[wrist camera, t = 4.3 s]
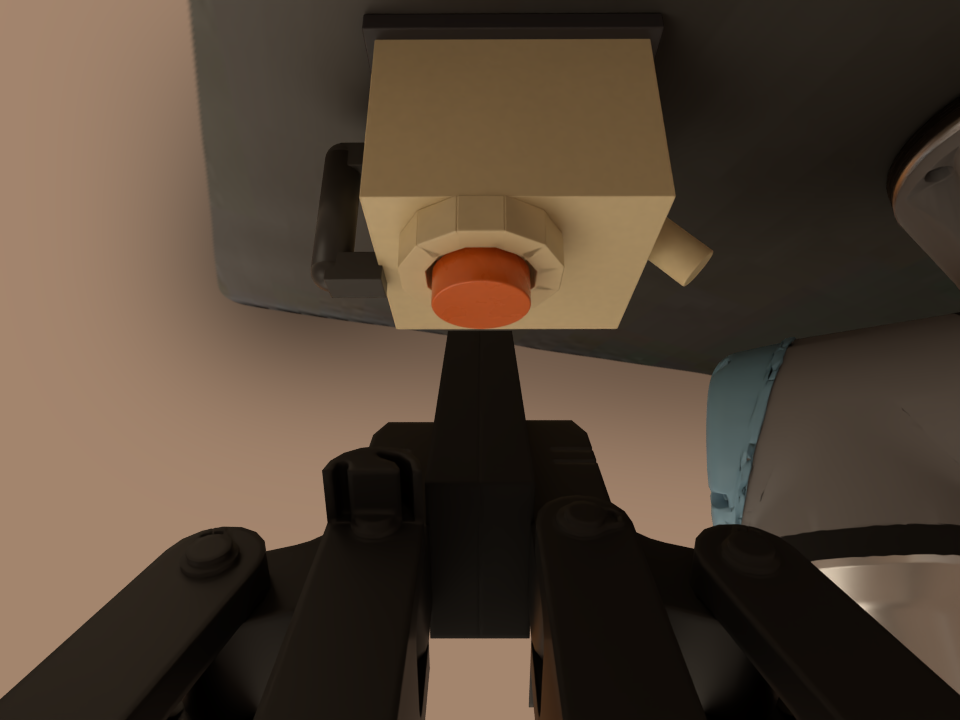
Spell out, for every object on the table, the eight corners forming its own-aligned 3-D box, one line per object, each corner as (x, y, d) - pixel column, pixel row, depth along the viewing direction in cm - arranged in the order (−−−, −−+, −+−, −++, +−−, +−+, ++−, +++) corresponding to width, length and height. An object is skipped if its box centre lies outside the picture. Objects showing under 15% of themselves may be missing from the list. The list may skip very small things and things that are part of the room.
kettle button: (533, 244, 26) (534, 280, 25) (526, 297, 30) (527, 329, 29) (428, 245, 26) (427, 280, 25) (435, 297, 30) (434, 329, 29)
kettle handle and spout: (729, 12, 29) (775, 202, 24) (656, 196, 41) (678, 345, 36) (299, 13, 29) (266, 203, 24) (353, 196, 41) (337, 346, 36)
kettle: (649, 21, 29) (683, 230, 24) (603, 190, 40) (620, 357, 35) (375, 22, 29) (354, 231, 24) (404, 190, 40) (394, 357, 35)
